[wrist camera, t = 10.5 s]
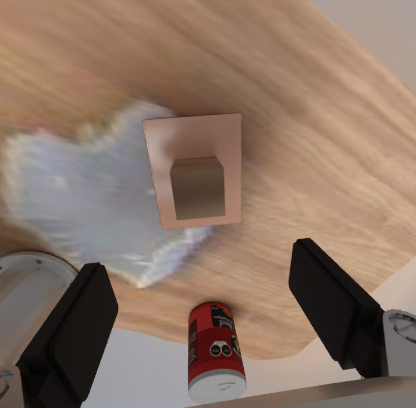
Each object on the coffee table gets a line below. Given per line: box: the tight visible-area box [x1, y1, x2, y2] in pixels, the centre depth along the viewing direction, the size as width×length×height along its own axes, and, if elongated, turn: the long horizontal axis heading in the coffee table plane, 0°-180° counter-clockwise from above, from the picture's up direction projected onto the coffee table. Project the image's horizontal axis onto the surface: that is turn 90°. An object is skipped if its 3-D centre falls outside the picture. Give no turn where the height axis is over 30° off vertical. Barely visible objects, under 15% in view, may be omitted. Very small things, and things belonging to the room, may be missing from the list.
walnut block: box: [170, 156, 225, 221], centre depth 22 cm, size 5×5×6 cm
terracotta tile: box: [142, 113, 242, 230], centre depth 25 cm, size 14×11×1 cm
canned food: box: [188, 302, 247, 405], centre depth 31 cm, size 8×8×11 cm
